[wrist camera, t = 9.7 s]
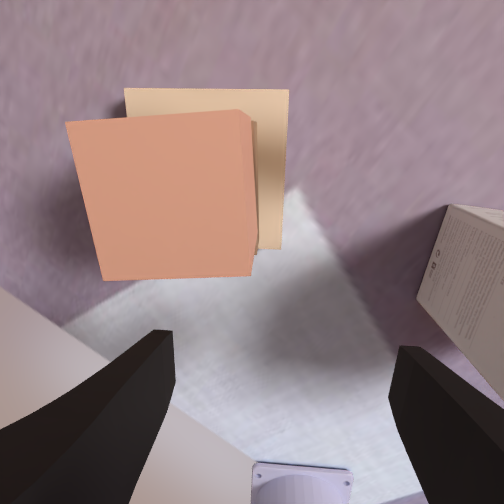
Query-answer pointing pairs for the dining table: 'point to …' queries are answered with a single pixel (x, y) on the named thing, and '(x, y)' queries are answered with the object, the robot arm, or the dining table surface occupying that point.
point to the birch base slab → (268, 137)
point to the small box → (470, 287)
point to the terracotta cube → (169, 194)
